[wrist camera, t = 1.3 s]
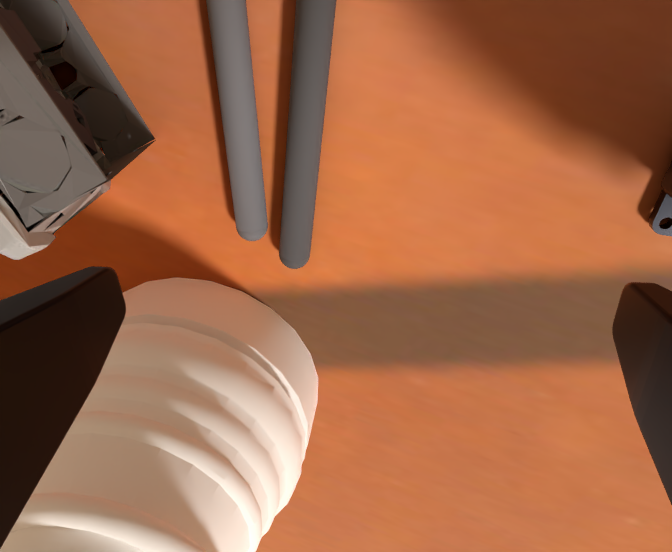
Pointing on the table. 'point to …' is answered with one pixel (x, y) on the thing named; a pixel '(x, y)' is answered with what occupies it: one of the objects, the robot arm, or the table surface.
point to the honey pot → (180, 430)
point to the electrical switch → (56, 124)
